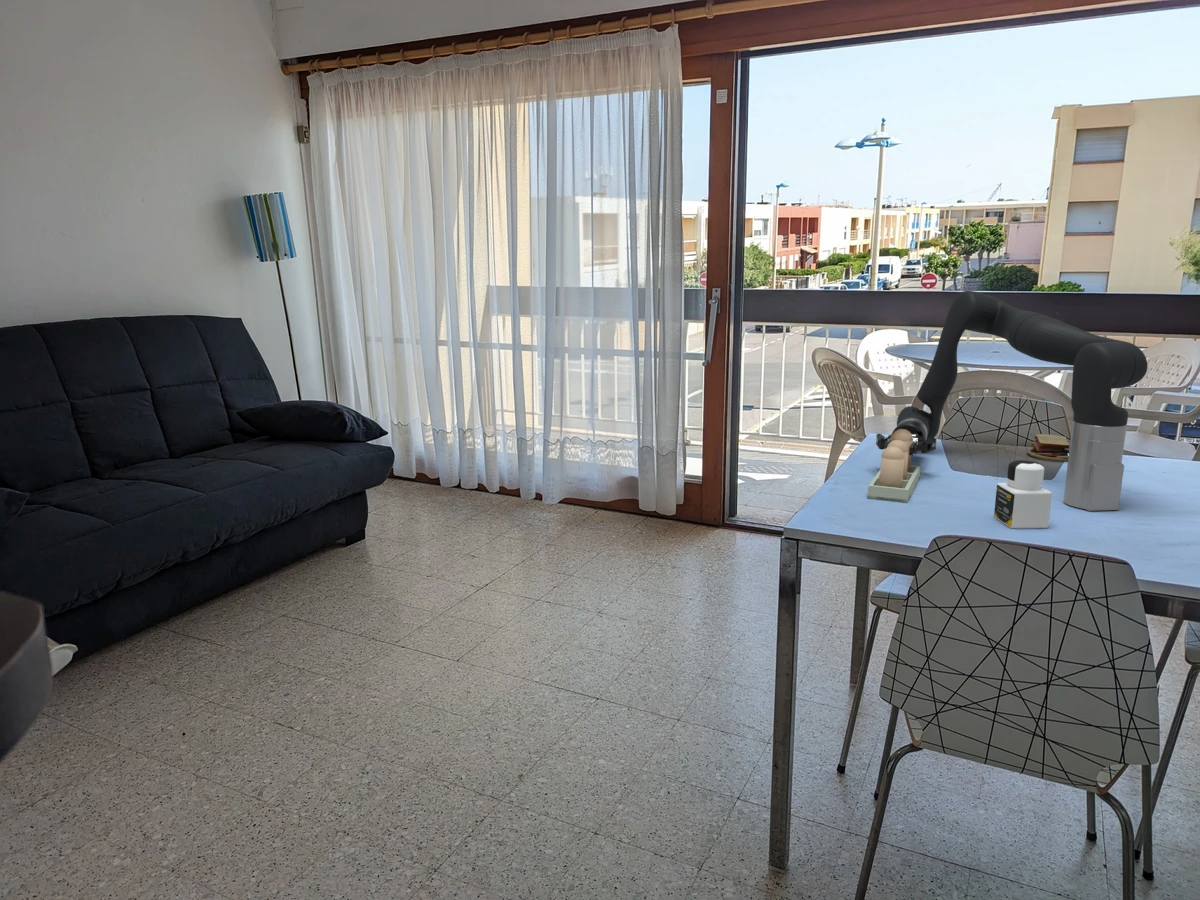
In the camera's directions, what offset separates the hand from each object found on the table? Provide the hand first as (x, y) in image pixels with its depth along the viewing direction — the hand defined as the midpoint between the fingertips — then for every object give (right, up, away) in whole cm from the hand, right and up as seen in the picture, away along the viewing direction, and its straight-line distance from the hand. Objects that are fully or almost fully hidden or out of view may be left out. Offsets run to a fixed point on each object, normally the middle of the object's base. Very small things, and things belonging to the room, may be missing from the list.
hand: (899, 449), depth 179 cm
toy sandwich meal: (+48, -2, +24) cm, 54 cm away
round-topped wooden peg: (+1, -5, +4) cm, 7 cm away
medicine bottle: (+13, -14, -27) cm, 33 cm away
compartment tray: (-2, -8, -2) cm, 9 cm away
